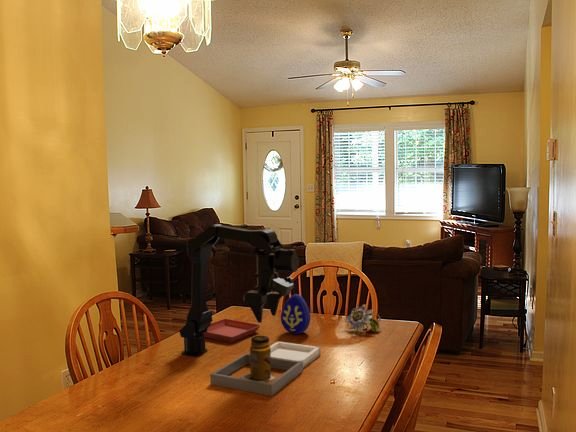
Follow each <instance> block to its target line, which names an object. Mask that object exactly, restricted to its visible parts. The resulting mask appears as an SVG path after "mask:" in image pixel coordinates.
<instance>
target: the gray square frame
mask: <svg viewBox="0 0 576 432" xmlns="http://www.w3.org/2000/svg"><path fill="white" fill-rule="evenodd" d="M246 365H250V353H248V352H246V353H244V354H242V355H240V356H239V357H237V358H236V359H233V360H232V361H230V362H228V363H227V364H225V365H223V366H222V367H220V368H218V369H216V370H215V371H213V372H211V373H210V374H209V376H210V377H209V379H210V382H209V383H210V385H212V386H213V385H214V386H218V387H224V388H228V389H233V390H237V391H238V390H240V391H243V392H249V393H255V394H260V395H265V396H271V397H273V396H274V395H276V394H277V393H278V392H279V391H280V390H282V389H283V388H284V387H286V386H287V385H288V384H289V383H290V382H291V381H293V380H294V379H295V378H296V377H298V376H299V375H300V374H301V373H302V372H303V370H304V368H303V362H300V361H294V360H287V359H281V358H275V357H271V369H278V370H283V371H284V370H285V372H283V373H282V374H281V375H280V376H278V377H276V378H275V379H273V380H272V381H271V382H267V381H263V382H260V381H255V380H249V379H244V378H241V377H238V376H232V375H231V374H233V373H235V372H237V371H238V370H239V369H241V368H242V367H245V366H246Z"/></svg>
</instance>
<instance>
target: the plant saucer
mask: <svg viewBox="0 0 576 432" xmlns="http://www.w3.org/2000/svg"><path fill="white" fill-rule="evenodd" d="M260 327H261V324H257V323H253V322H252V323H251V322H245V321H242V320H241V321H239V320H235V319H230V318H223V319H219V320H216V321H215V322H211V325H210V326H209V327H208V329H207V332H206V333H203V334H204V338H208V339H212V340H218V341H223V342H226V343H233V342H236V341H238V340H241V339H243V338H245V337H247V336H250V335H253V334H255V333H256V332H257V331H258V330H259V328H260Z"/></svg>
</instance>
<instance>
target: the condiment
mask: <svg viewBox="0 0 576 432" xmlns="http://www.w3.org/2000/svg"><path fill="white" fill-rule="evenodd" d="M250 340H251V342H250V345H251V346H250V347H249V352H250V353H249V354H250V364H249V365H250V373H247V374H244V375H239V378H244V379H249V380H255V381H260V382H268V381H273V380H275V379H277V377H276V376H273V375H272V374H271V373H272V371H271V369H272V368H271V353H270V352H271V350H270V346H271V345H270V338H269V336H266V335H255V336H252V338H251V339H250Z"/></svg>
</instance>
